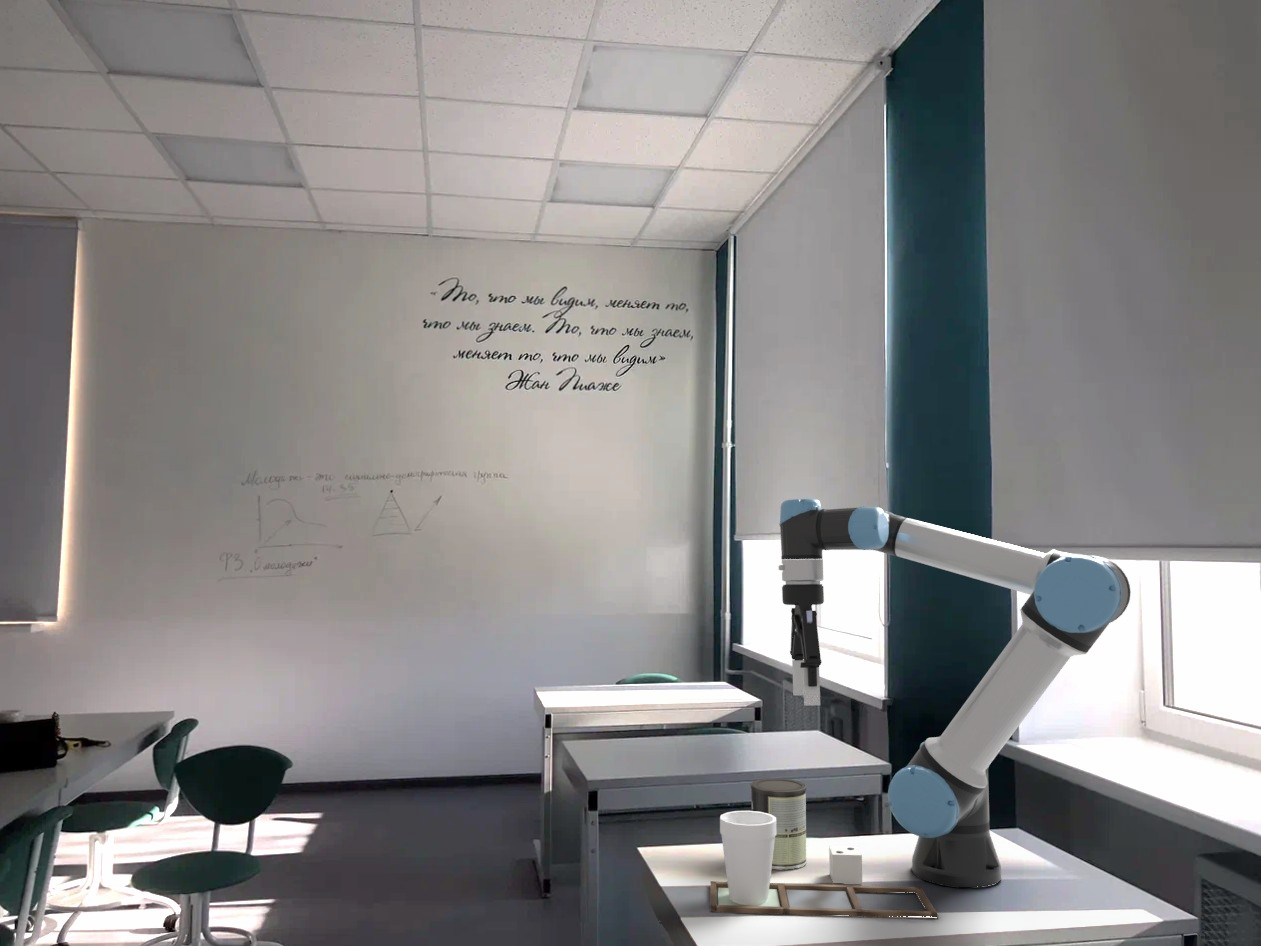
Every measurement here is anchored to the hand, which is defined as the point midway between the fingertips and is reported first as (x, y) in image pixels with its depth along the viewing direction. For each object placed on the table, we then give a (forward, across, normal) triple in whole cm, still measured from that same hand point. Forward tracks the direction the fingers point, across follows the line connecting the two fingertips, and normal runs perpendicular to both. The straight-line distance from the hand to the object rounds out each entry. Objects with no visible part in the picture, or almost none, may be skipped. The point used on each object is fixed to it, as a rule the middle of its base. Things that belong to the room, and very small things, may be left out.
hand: (806, 700), depth 180 cm
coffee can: (+30, -6, -5) cm, 32 cm away
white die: (+31, +3, +5) cm, 31 cm away
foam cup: (+30, +14, -13) cm, 36 cm away
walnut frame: (+31, +15, -1) cm, 34 cm away
